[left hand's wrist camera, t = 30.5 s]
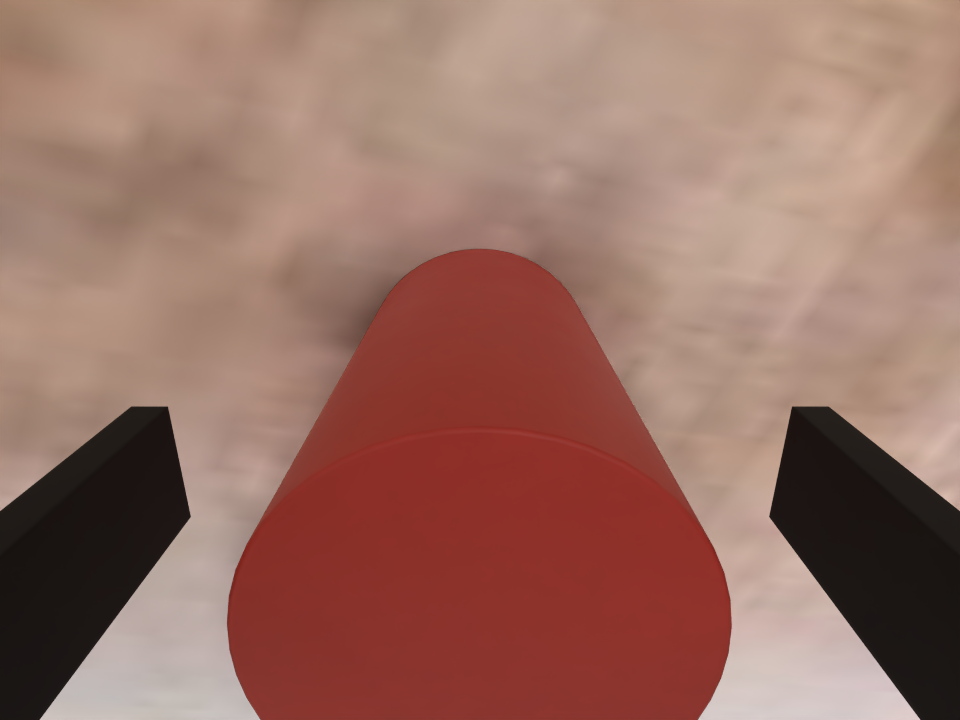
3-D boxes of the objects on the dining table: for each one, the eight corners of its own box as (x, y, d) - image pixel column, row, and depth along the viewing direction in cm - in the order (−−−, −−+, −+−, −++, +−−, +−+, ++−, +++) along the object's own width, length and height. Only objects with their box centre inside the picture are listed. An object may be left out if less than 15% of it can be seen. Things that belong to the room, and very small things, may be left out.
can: (379, 233, 18) (221, 392, 7) (609, 265, 18) (804, 465, 7) (362, 439, 20) (227, 797, 9) (565, 464, 21) (662, 837, 10)
